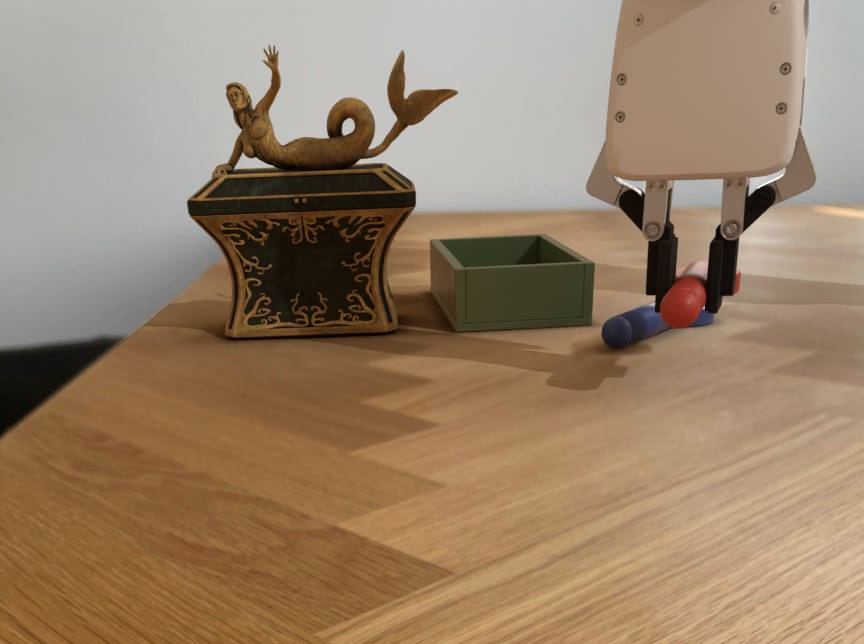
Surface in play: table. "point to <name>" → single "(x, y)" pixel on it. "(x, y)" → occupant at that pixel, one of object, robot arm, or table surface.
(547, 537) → the table surface
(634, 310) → the blue spoon
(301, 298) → the decorative box
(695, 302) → the red spoon
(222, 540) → the table surface
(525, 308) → the bin
